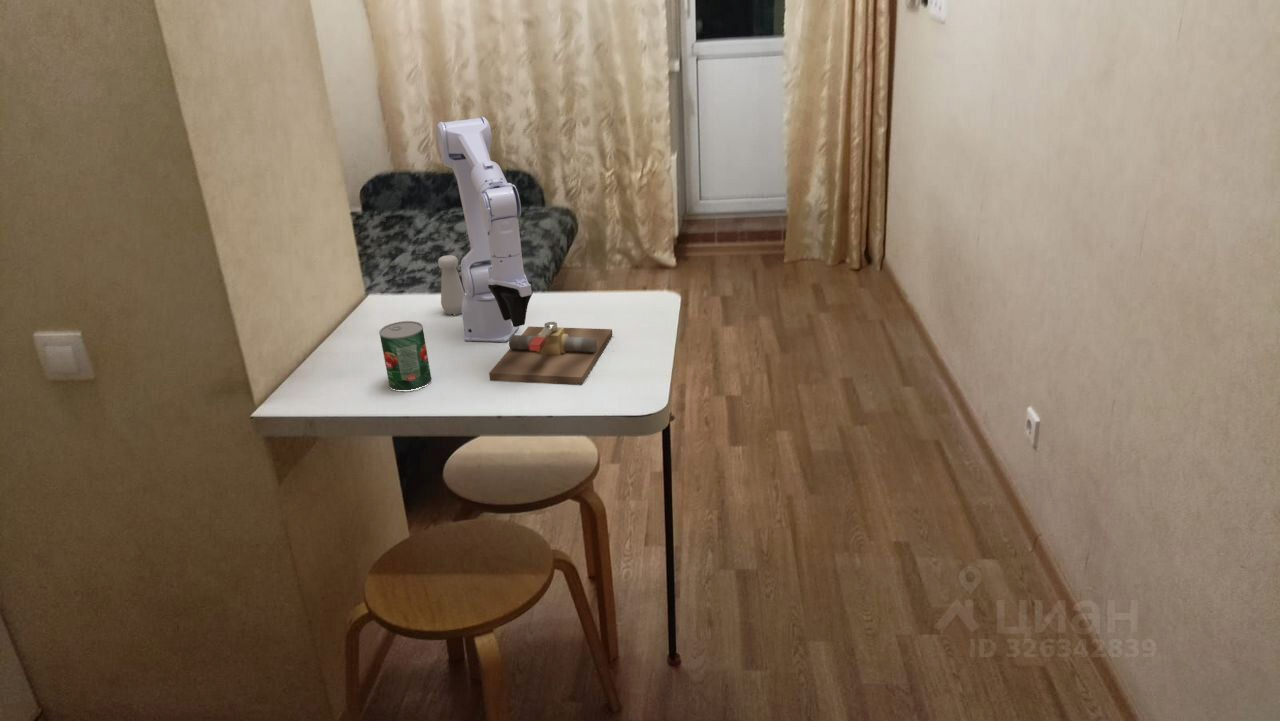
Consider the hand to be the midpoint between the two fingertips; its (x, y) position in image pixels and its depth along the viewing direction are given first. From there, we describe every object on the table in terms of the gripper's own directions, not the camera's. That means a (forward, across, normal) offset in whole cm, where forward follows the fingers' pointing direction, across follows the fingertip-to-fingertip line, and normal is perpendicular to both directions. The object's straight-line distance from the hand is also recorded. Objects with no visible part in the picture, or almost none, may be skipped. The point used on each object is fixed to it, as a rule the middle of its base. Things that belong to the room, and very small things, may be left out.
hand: (514, 322), depth 174 cm
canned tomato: (+10, -7, -19) cm, 23 cm away
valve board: (+9, 0, +8) cm, 12 cm away
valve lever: (+4, +3, +4) cm, 6 cm away
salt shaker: (+10, -37, +2) cm, 38 cm away
